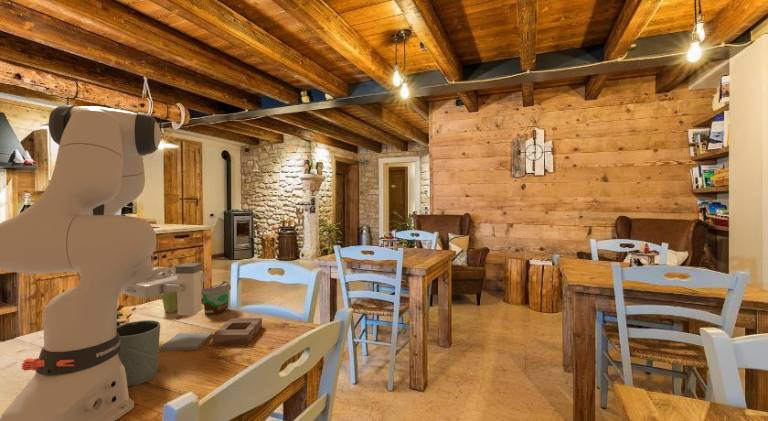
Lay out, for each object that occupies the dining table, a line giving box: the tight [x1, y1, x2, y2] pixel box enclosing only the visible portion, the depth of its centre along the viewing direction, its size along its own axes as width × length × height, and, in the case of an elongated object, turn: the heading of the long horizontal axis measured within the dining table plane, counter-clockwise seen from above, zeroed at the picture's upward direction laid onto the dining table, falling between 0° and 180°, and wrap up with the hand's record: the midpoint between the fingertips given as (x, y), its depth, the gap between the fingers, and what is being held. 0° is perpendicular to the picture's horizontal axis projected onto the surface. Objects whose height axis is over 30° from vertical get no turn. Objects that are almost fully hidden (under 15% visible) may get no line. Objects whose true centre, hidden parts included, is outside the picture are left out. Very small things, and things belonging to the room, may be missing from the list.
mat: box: [159, 332, 213, 352], centre depth 105 cm, size 10×10×1 cm
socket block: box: [211, 317, 263, 346], centre depth 111 cm, size 14×10×3 cm
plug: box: [175, 262, 203, 316], centre depth 105 cm, size 5×5×14 cm
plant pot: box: [161, 292, 178, 314], centre depth 135 cm, size 9×9×9 cm
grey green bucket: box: [117, 319, 161, 387], centre depth 85 cm, size 10×10×12 cm
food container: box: [201, 280, 232, 316], centre depth 134 cm, size 12×6×10 cm, turn 168°
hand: (191, 285), depth 104 cm, fingers closed on plug, 6 cm apart
